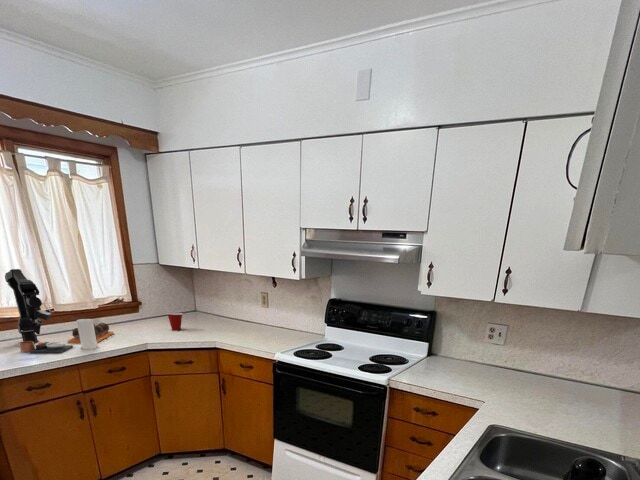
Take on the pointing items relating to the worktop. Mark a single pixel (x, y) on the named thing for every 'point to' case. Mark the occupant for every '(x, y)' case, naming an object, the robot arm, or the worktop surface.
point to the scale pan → (54, 344)
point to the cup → (87, 333)
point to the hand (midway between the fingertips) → (38, 334)
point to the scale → (51, 349)
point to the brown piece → (100, 333)
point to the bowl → (26, 346)
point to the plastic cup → (175, 320)
